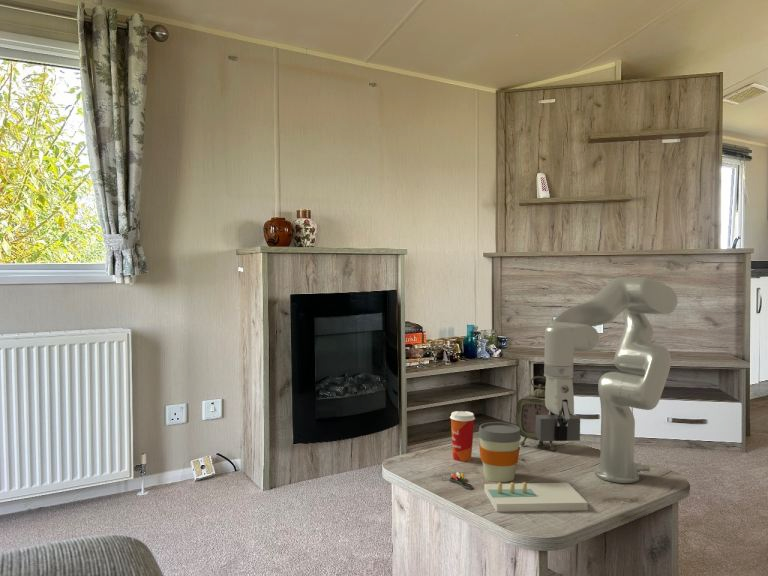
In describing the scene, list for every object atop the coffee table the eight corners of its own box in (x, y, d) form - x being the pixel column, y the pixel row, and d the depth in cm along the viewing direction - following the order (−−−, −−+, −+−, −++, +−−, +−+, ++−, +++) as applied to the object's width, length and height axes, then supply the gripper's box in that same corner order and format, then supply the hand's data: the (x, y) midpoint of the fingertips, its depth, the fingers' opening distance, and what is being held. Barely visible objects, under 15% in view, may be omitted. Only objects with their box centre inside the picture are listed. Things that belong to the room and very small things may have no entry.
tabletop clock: (515, 446, 206) (516, 376, 205) (523, 440, 214) (524, 372, 213) (556, 453, 199) (558, 380, 198) (563, 446, 206) (564, 376, 206)
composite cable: (474, 490, 166) (474, 481, 166) (459, 492, 165) (459, 483, 165) (461, 478, 176) (461, 470, 175) (446, 479, 174) (446, 471, 174)
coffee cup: (448, 454, 197) (449, 410, 196) (473, 454, 197) (473, 410, 196) (450, 462, 189) (451, 416, 188) (476, 463, 188) (476, 417, 188)
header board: (567, 489, 166) (567, 472, 166) (587, 510, 152) (587, 491, 152) (484, 490, 165) (484, 473, 165) (496, 511, 151) (496, 492, 151)
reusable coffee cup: (506, 467, 184) (507, 420, 183) (528, 481, 172) (529, 431, 172) (470, 471, 180) (471, 423, 179) (490, 486, 168) (491, 435, 168)
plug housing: (573, 436, 161) (574, 414, 160) (579, 440, 156) (580, 418, 156) (535, 436, 160) (535, 414, 160) (540, 441, 156) (540, 419, 155)
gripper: (584, 376, 149) (583, 447, 150) (560, 365, 166) (559, 429, 167) (555, 377, 149) (554, 447, 150) (535, 365, 166) (534, 429, 166)
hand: (557, 437), depth 158 cm, fingers closed on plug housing, 4 cm apart
